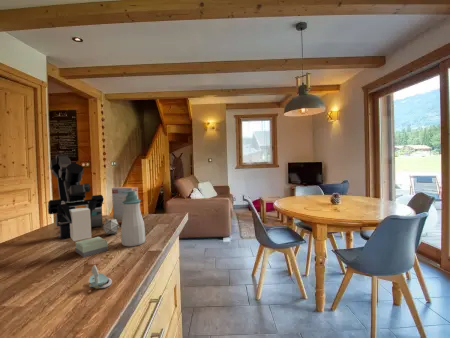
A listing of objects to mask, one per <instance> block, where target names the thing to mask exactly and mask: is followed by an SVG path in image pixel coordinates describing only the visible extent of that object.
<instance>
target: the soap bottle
mask: <svg viewBox="0 0 450 338" xmlns="http://www.w3.org/2000/svg"><path fill="white" fill-rule="evenodd" d="M122 193H128V196H126V200H125V201H123V203H124V215H123V220H122V224H120V226H121V227H120V228H121V229H120V241H121V244H122V246H123V247H124V246H125V247H136V246H140V245H142V244H144V243H145V241H146V229H145V221H144V219H143V216H142V212H141V199H140V198H138V199H137V195H135V191H127V192H122Z"/></svg>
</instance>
